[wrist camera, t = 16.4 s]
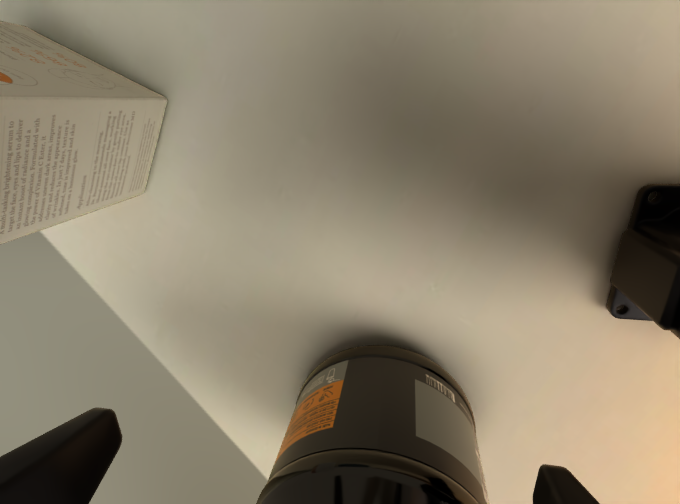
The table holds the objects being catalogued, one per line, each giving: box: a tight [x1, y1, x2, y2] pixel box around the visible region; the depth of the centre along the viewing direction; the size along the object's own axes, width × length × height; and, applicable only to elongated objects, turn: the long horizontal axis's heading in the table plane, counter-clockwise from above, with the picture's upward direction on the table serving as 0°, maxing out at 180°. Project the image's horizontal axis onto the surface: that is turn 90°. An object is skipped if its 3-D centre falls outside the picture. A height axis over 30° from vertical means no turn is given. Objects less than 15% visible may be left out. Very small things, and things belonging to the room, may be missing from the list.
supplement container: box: [256, 345, 489, 504], centre depth 18 cm, size 10×10×12 cm
